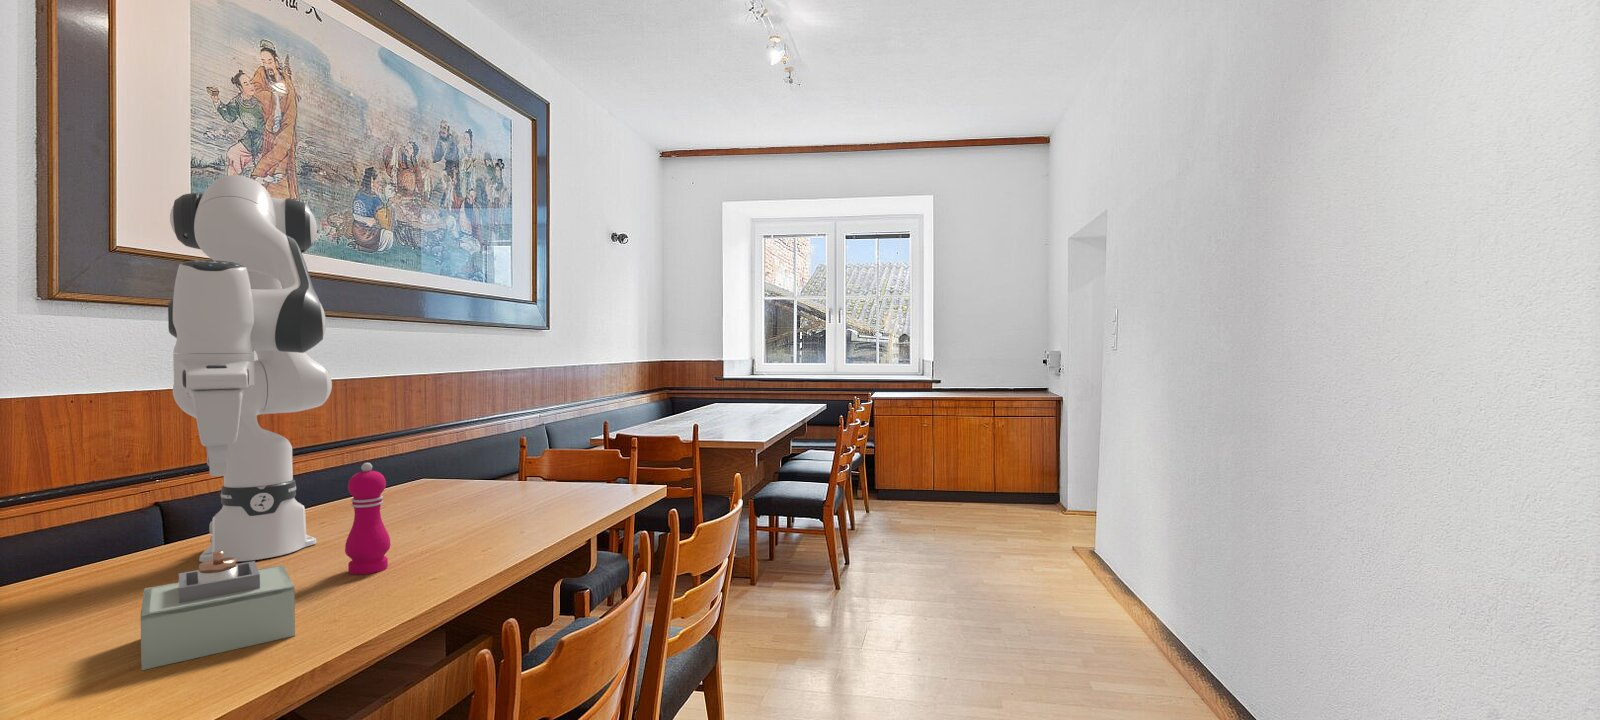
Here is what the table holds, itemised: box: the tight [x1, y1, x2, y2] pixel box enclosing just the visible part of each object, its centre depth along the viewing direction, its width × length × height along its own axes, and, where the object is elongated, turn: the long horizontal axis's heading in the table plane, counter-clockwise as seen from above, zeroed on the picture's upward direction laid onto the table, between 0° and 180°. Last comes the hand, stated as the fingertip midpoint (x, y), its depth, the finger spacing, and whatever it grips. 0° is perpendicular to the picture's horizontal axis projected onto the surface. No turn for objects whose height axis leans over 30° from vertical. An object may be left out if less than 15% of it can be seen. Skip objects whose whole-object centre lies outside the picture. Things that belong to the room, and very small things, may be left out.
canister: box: [198, 551, 238, 584], centre depth 99 cm, size 4×4×12 cm
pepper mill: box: [344, 462, 391, 576], centre depth 130 cm, size 7×7×20 cm
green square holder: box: [139, 560, 296, 671], centre depth 100 cm, size 14×16×9 cm
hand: (216, 470), depth 99 cm, fingers open, 8 cm apart
